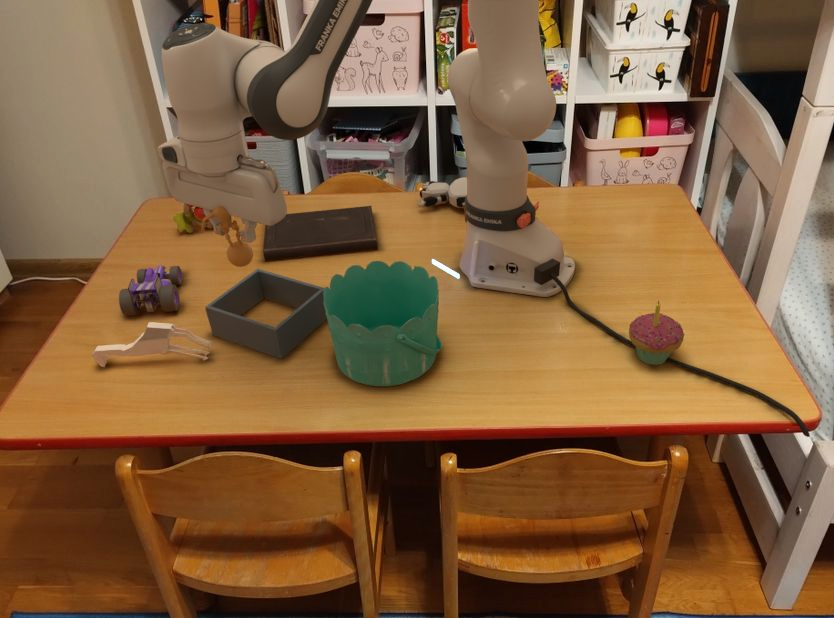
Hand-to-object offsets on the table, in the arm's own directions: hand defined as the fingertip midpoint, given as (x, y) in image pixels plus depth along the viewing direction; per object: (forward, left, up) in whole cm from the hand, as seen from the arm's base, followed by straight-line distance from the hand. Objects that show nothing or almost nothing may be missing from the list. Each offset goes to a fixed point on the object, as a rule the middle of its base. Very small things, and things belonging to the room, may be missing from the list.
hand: (235, 236), depth 110 cm
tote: (+2, -6, -21) cm, 22 cm away
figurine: (0, 0, -6) cm, 6 cm away
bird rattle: (+40, -28, -22) cm, 54 cm away
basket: (-21, -8, -22) cm, 31 cm away
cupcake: (-60, -27, -22) cm, 69 cm away
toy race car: (+28, -4, -22) cm, 36 cm away
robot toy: (-5, -62, -22) cm, 66 cm away
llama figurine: (+13, +11, -22) cm, 28 cm away
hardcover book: (+13, -36, -22) cm, 44 cm away
